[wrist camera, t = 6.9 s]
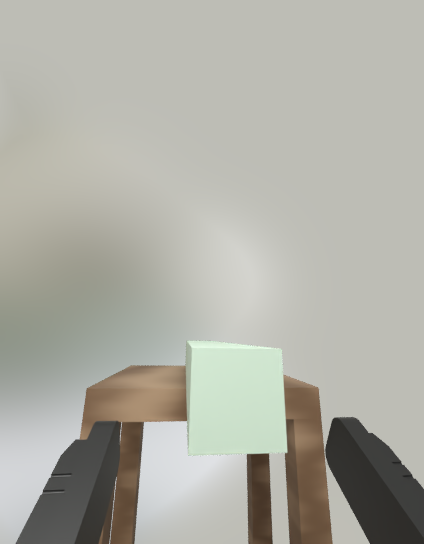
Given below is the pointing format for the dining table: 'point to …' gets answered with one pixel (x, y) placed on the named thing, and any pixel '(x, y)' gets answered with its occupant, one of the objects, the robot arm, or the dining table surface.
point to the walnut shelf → (299, 458)
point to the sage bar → (234, 399)
